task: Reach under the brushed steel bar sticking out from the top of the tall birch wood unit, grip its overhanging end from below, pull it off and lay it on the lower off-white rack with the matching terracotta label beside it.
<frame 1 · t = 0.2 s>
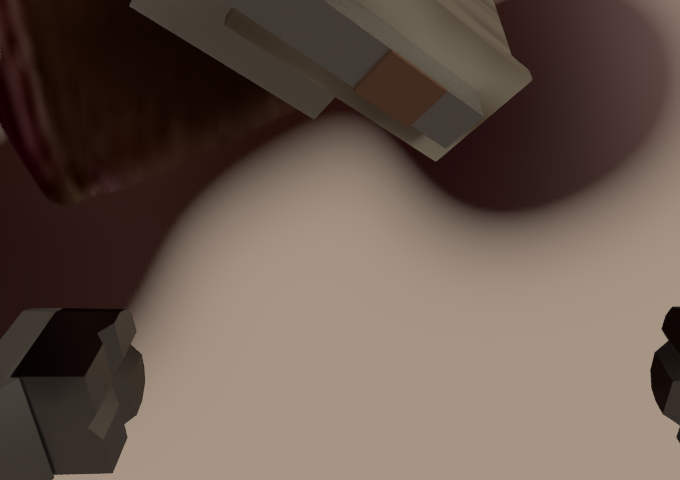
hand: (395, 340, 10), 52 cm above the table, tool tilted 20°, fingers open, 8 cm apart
bar: (312, 1, 33), point 26 cm above the table, touching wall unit
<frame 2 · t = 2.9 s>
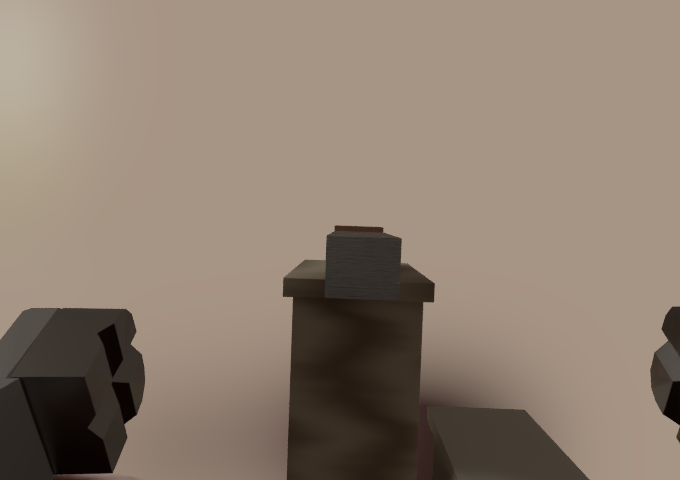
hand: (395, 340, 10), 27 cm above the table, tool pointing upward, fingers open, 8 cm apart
bar: (358, 275, 36), point 26 cm above the table, touching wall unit
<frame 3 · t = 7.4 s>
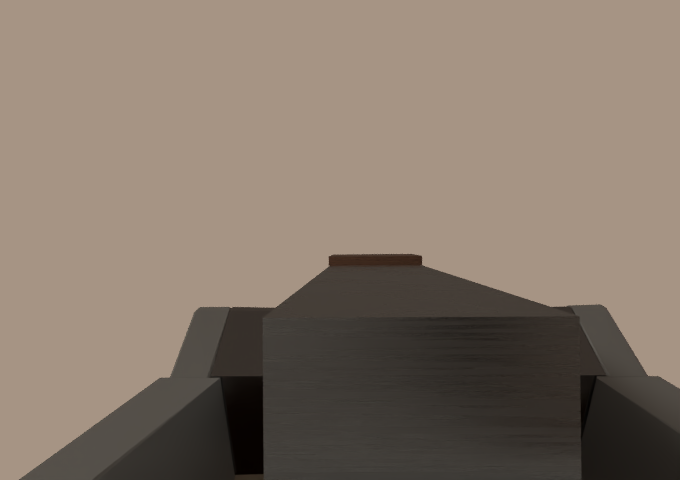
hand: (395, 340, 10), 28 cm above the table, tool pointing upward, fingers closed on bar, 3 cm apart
bar: (380, 362, 17), point 26 cm above the table, touching gripper, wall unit
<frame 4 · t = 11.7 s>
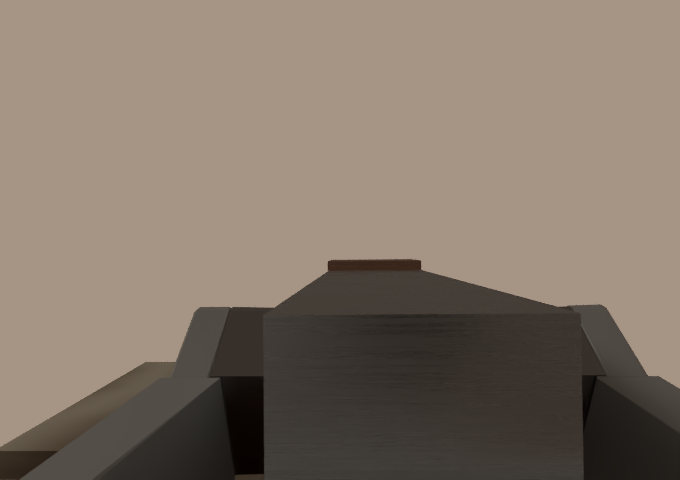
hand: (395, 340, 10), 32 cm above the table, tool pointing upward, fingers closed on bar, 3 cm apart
bar: (379, 367, 17), point 30 cm above the table, touching gripper
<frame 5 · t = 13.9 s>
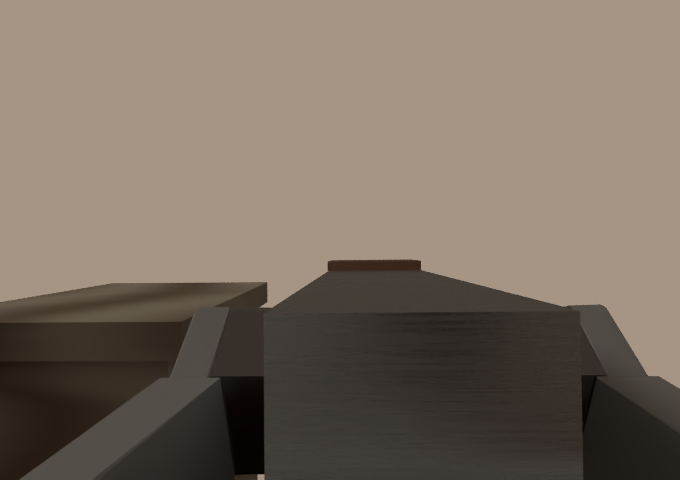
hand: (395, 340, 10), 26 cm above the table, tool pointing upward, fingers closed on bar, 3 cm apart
bar: (379, 367, 17), point 25 cm above the table, touching gripper
when the fingers open (19 cm above the table, at t = 15.8 s): bar drops 1 cm, resting on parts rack.
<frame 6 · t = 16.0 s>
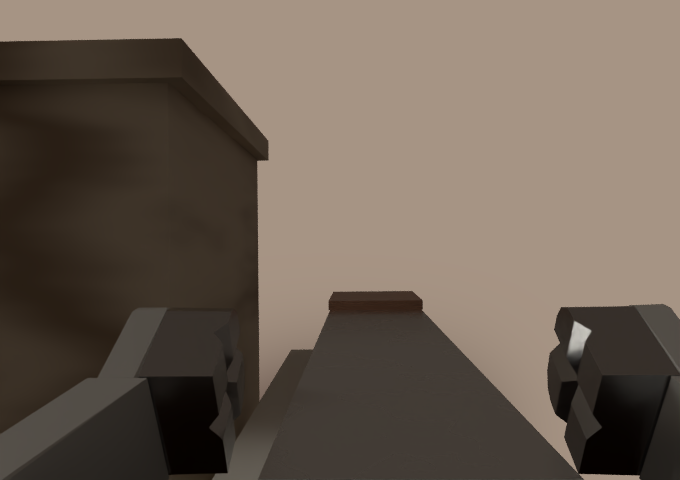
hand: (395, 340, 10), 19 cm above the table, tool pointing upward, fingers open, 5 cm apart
bar: (380, 419, 17), point 16 cm above the table, touching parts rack
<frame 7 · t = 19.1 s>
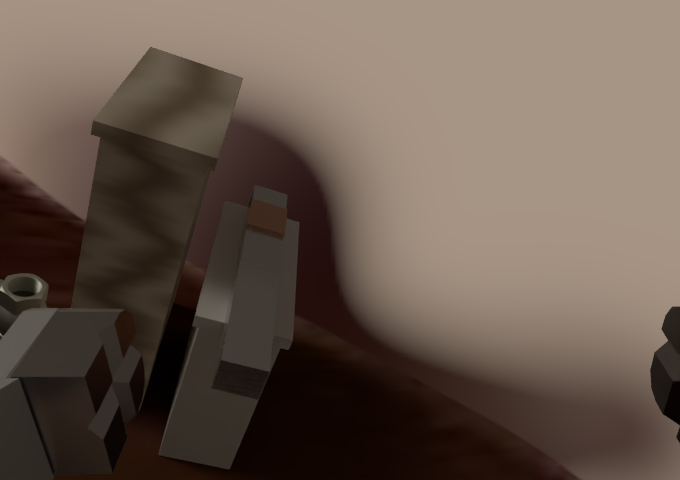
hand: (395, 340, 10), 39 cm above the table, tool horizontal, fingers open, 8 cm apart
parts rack: (207, 394, 59), on the table
bar: (251, 285, 48), point 16 cm above the table, touching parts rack
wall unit: (121, 342, 60), on the table
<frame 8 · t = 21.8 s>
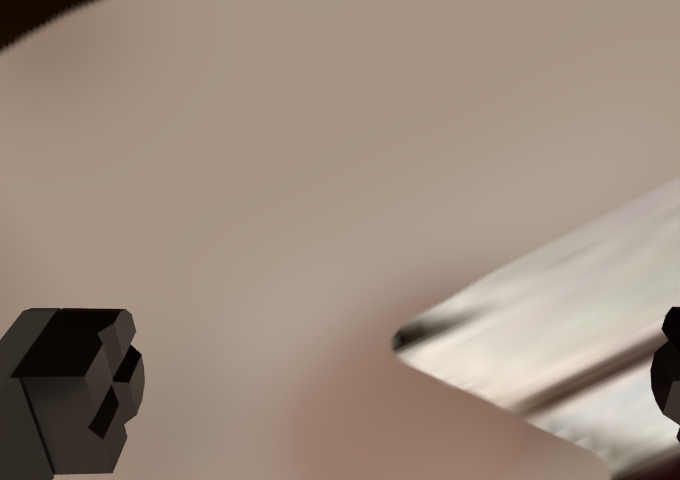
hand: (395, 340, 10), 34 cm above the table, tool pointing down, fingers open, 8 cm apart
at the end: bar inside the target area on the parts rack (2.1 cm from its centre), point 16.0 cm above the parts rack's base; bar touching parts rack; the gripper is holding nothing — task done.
